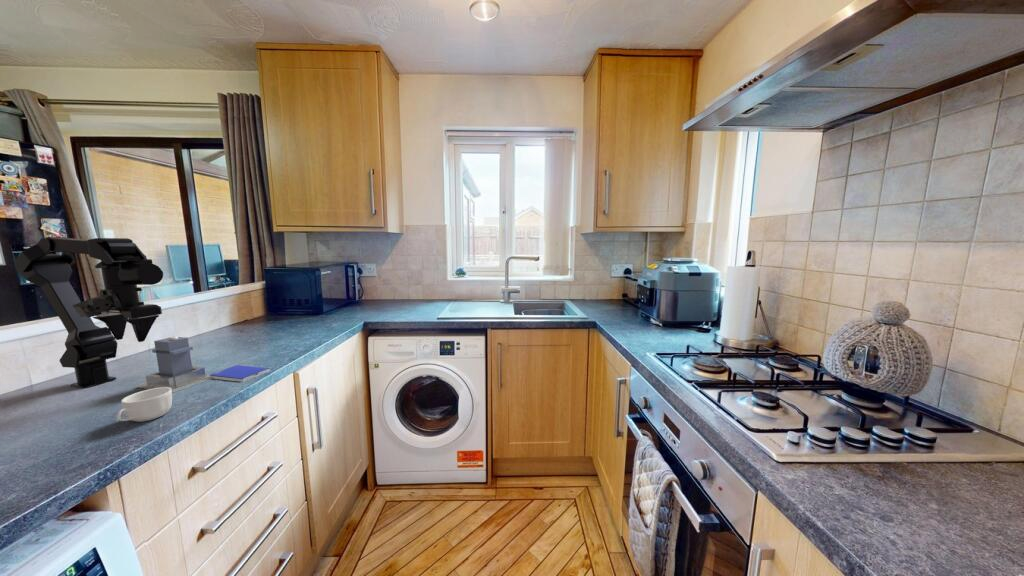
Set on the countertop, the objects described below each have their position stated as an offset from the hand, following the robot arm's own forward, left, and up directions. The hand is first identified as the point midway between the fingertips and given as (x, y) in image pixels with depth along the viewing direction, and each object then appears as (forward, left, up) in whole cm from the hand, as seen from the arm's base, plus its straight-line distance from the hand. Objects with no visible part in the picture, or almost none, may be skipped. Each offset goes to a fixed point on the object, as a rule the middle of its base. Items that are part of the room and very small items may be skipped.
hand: (130, 340), depth 92 cm
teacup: (+27, -12, -13) cm, 32 cm away
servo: (+9, +4, -12) cm, 16 cm away
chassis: (+9, +4, -13) cm, 16 cm away
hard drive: (+21, +13, -14) cm, 28 cm away
